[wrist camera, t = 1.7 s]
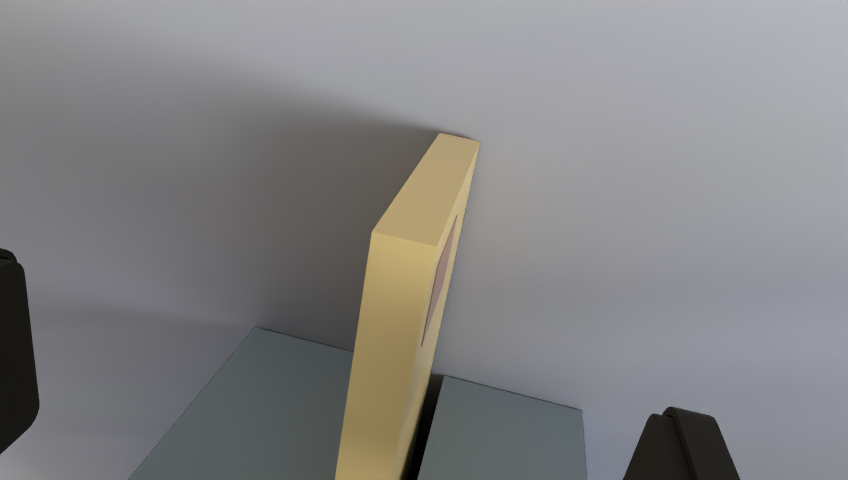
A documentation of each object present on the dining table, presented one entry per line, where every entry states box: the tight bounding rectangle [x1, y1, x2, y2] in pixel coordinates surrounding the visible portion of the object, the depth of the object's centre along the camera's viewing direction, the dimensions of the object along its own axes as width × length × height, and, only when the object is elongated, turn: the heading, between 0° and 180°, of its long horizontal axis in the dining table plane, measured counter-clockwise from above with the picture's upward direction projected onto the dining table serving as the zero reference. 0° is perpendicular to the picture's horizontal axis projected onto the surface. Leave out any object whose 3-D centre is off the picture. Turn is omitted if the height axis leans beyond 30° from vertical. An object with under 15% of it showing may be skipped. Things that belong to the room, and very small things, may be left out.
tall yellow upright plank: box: [335, 133, 480, 480], centre depth 15 cm, size 1×12×6 cm, turn 170°
